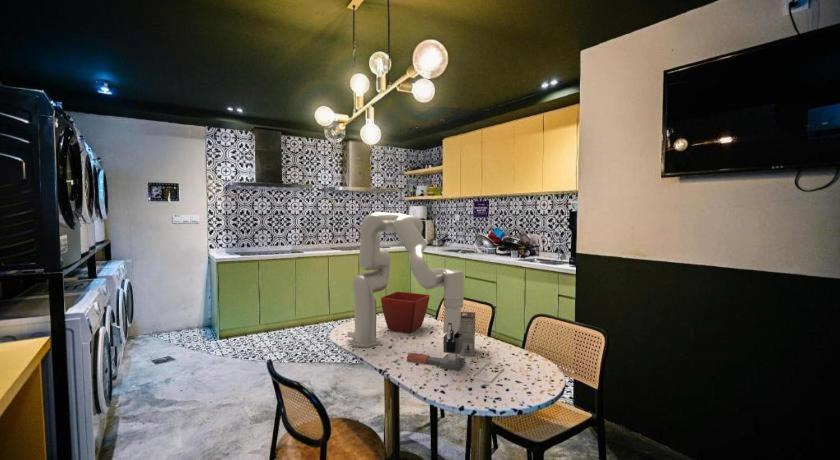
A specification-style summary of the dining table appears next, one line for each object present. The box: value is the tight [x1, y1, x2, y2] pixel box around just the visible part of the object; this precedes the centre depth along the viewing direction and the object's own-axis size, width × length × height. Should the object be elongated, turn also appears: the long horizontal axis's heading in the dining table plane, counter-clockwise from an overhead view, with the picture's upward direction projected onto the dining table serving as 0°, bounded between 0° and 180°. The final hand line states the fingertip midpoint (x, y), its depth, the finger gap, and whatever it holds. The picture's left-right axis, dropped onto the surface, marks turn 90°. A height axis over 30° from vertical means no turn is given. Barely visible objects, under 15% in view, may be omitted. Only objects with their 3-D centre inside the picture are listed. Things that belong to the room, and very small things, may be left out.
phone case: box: [471, 362, 504, 384], centre depth 144 cm, size 7×1×15 cm
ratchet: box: [406, 352, 466, 371], centre depth 153 cm, size 22×8×6 cm, turn 72°
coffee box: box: [458, 311, 476, 356], centre depth 166 cm, size 9×6×16 cm
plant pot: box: [380, 291, 431, 334], centre depth 198 cm, size 19×19×17 cm
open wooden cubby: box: [442, 332, 462, 355], centre depth 151 cm, size 6×6×6 cm
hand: (452, 348), depth 151 cm, fingers closed on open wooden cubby, 6 cm apart
